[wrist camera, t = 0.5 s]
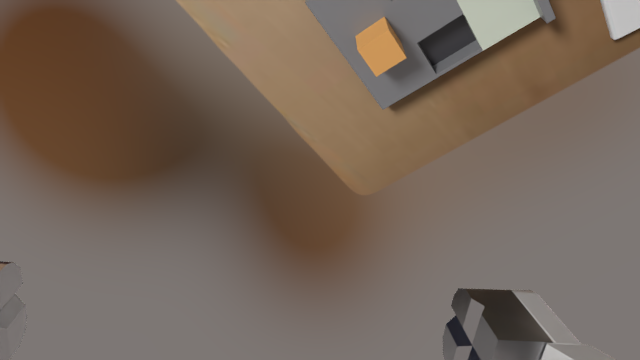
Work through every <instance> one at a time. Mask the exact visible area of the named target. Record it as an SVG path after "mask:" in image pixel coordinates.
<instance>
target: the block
mask: <svg viewBox="0 0 640 360" xmlns="http://www.w3.org/2000/svg"><path fill="white" fill-rule="evenodd" d="M355 37H356V44H357V50H358V52H359V53H360V54H361V56H362V57H363V59H364V60H365V62H366V63H367V64H368V66H369V67H370V69H371V70H372V72H373V73H374V74H375V76H376V77H377V76H378V75H380V74H382V73H383V72H385V71H387V70H388V69H390V68H391V67H393V66H395V65H396V64H398V63H399V62H401V61H403V60H404V59H406V58H407V57H406V54H405V51H404V49H403V46H402V43H401V41H400V40H399V38H398V37H397V35H396V34H395V32H394V30H393V29H392V27H391V26H390V24H389V22H388V21H387V19H386V18H385V16H384V17H383V18H381V19H380V20H378V21H377V22H376V23H374V24H373V25H371V26H370V27H368V28H367V29H365V30H364V31H362V32H361V33H359V34H358V35H356V36H355Z"/></svg>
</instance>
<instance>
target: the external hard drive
mask: <svg viewBox="0 0 640 360" xmlns="http://www.w3.org/2000/svg"><path fill="white" fill-rule="evenodd" d="M600 1H601V5H602V8H603V12H604V15H605V19H606V22H607V26H608V30H609V33H610V37H611V38H612V39H613V40H616V39H619V38H621V37H623V36H625V35H627V34H629V33H631V32H633V31H635V30H637V29H639V28H640V0H600Z"/></svg>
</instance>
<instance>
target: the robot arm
mask: <svg viewBox="0 0 640 360" xmlns="http://www.w3.org/2000/svg"><path fill="white" fill-rule="evenodd" d="M22 284H23V282H22V276H21V270H20V267H19V266H18V265H16V264H15V263H14V262H3V261H0V360H9V359H11V358H12V356H13V355H14V354H15V352H16V351H17V349H18V348H19V346H20V344H21V341H22V338H23V335H24V333H25V330H26V319H27V314H26V305H25V304H24V303H23V302H22V301H21V300H20V298H18V296H17V295H16V294H15V293H16V291H17V290H18V289H19V288H20V287H21V285H22ZM451 306H452V309H453V311H454V312H455V314H456V315H455V316H454V317H453V318H452V319H451V320H450V321H449V322H448V323H447V324H446V326H445V331H444V335H443V355H444V359H445V360H616V359H614V358H612V357H610V356H609V355H607V354H605V353H603V352H601V351H600V350H598V349H596V348H594V347H592V346H590V345H583V344H581V343H580V342H579V341H578V340H577V338H576V337H575V336H574V335H573V334H572V333H571V332H570V330H569V329H568V328H567V327H566V326H565V325H564V324H563V322H562V321H561V320H560V319H559V318H558V317H557V316H556V314H555V313H554V312H553V311H552V310H551V309H550V308H549V307H548V305H547V304H546V303H545V302H544V301H543V300H542V298H541V297H540V296H539V295H538V294H537V293H535V292H533V291H531V290H492V289H463V288H458V290H457V291H456V293H455V294H454V297H453V300H452V305H451Z"/></svg>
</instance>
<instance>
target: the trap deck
mask: <svg viewBox="0 0 640 360" xmlns="http://www.w3.org/2000/svg"><path fill="white" fill-rule="evenodd" d="M305 3H306V5H307V6H308V8H309V9H310V10H311V12H312V13H313V14H314V16H315V17H316V19H317V20H318V21H319V23H320V24H321V25H322V27H323V28H324V30H325V31H326V32H327V34H328V35H329V36H330V38H331V39H332V41H333V42H334V43H335V45H336V46H337V47H338V49H339V50H340V52H341V53H342V54H343V56H344V57H345V58H346V60H347V61H348V63H349V64H350V65H351V67H352V68H353V69H354V71H355V72H356V74H357V75H358V76H359V78H360V79H361V80H362V82H363V83H364V85H365V86H366V87H367V89H368V90H369V92H370V93H371V94H372V96H373V97H374V98H375V100H376V101H377V103H378V104H379V105H380V107H381V108H382V109H385V108H387V107H388V106H390V105H392V104H394V103H395V102H397V101H399V100H400V99H402V98H404V97H405V96H407V95H409V94H410V93H412V92H414V91H416V90H417V89H419V88H421V87H422V86H424V85H426V84H427V83H429V82H431V81H433V80H434V79H436V78H438V77H439V76H441V75H443V74H444V73H446V72H448V71H450V70H451V69H453V68H455V67H456V66H458V65H460V64H461V63H463V62H465V61H466V60H468V59H470V58H472V57H473V56H475V55H477V54H478V53H480V52H482V51H483V50H485V49H487V48H489V47H490V46H492V45H494V44H495V43H497V42H499V41H500V40H502V39H504V38H505V37H507V36H509V35H511V34H512V33H514V32H516V31H517V30H519V29H521V28H522V27H524V26H526V25H528V24H529V23H531V22H533V21H534V20H536V19H538V18H539V17H541V18H542V19H543V20H544V21H545V22H546V23H548V22H550V21H552V20H554V19H555V18H556V17H555V15H554V12H553V10H552V7H551V5H550V2H549V0H306V1H305ZM384 16H385V18H386V19H387V21H388V22H389V24H390V26H391V27H392V29H393V30H394V32H395V34H396V35H397V37H398V38H399V40H400V41H401V43H402V46H403V49H404V51H405V54H406V57H407V58H406V59H404V60H403V61H401V62H399V63H398V64H396V65H395V66H393V67H391V68H390V69H388V70H387V71H385V72H383V73H382V74H380V75H378V76H377V77H376V76H375V74H374V73H373V72H372V70H371V69H370V67H369V66H368V64H367V63H366V62H365V60H364V59H363V57H362V56H361V54H360V53H359V52H358V50H357V44H356V37H355V36H356V35H358V34H359V33H361V32H362V31H364V30H365V29H367V28H368V27H370V26H371V25H373V24H374V23H376V22H377V21H378V20H380V19H381V18H383V17H384Z"/></svg>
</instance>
